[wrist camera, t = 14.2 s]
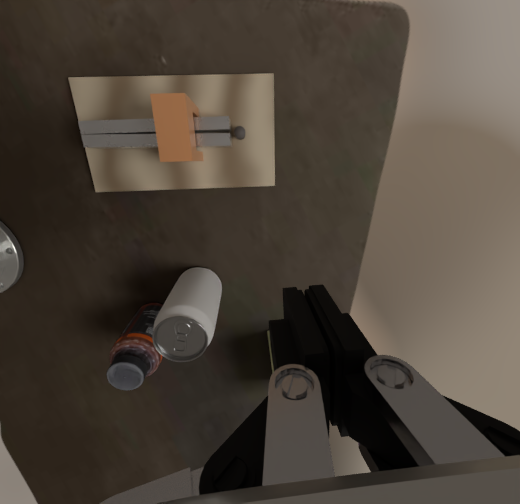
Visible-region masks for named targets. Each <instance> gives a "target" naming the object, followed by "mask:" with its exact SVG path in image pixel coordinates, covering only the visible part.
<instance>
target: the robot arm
mask: <svg viewBox="0 0 520 504" xmlns="http://www.w3.org/2000/svg"><path fill="white" fill-rule="evenodd" d="M23 266H24V259H23V253H22V250H21V247H20V245H19V243H18V241H17V239H16V237H15V236H14V235H13V233H12V232H11V231H10V229H9V228H8V227H7V226H5V225H4V224H3V223H2V222H1V221H0V293H1V292H3V291H5V290H7V289H9V288H10V287H11V286H13V285H14V284H15V283H16V282H17V281H18V280H19V278H20V276H21V274H22V272H23ZM283 307H284V319H281V320H270V321H269V332H270V345H271V354H272V361H273V368H274V372H273V374H272V375H271V377H270V381H269V391H268V396H267V397H266V398H265V399H264V400H263V402H262V403H261V404H260V405H259V406H258V407H257V408H256V409H255V410H254V411H253V412H252V413H251V414H250V415H249V417H248V418H247V419H246V420H245V421H244V422H243V423H242V424H241V425H240V426H239V427H238V428H237V429H236V430H235V431H234V433H233V434H232V435H231V436H230V437H229V438H228V439H227V440H226V441H225V442H224V443H223V444H222V445H221V446H220V448H219V449H218V450H217V451H216V452H215V453H214V454H213V455H212V456H211V457H210V459H209V460H208V461H207V463H206V464H205V466H204V467H202V468H200V469H197V470H194V471H192V472H191V468H190V467H189V468H187V469H184V470H181V471H179V472H176V473H173V474H171V475H168V476H165V477H163V478H160V479H157V480H155V481H152V482H149V483H147V484H144V485H141V486H139V487H136V488H133V489H131V490H128V491H125V492H123V493H120V494H117V495H115V496H112V497H110V498H108V499H107V500H105V501H103V502H101V503H100V504H520V431H518V430H517V429H515V428H513V427H511V426H510V425H508V424H506V423H504V422H502V421H499V420H497V419H495V418H492V417H490V416H488V415H486V414H483V413H481V412H479V411H477V410H474V409H472V408H470V407H467V406H465V405H463V404H461V403H459V402H456V401H454V400H452V399H449V398H447V397H445V396H443V395H441V394H440V393H439V392H438V391H437V390H436V389H435V388H434V387H433V386H432V385H431V384H429V382H427V381H426V380H425V379H424V378H423V377H422V376H421V375H420V374H419V373H418V372H417V371H416V370H415V369H414V368H413V367H412V366H410V365H409V364H408V363H407V362H405V361H403V360H401V359H399V358H396V357H393V356H388V355H377V354H376V352H375V351H374V349H373V348H372V346H371V345H370V344H369V342H368V341H367V339H366V338H365V336H364V335H363V333H362V332H361V331H360V329H359V328H358V326H357V325H356V323H355V322H354V321H353V319H352V318H351V316H350V315H349V314H348V313H343V314H342V313H341V312H340V310H339V309H338V307H337V305H336V304H335V302H334V301H333V299H332V298H331V296H330V295H329V293H328V292H327V290H326V288H325V287H324V285H312V286H309V289H306V290H305V296H304V294H303V292H302V290H297V288H296V287H291V288H283ZM329 420H330V422H331V424H332V426H335V425H337V426H338V429H339V432H340V435H341V437H344V436H349V437H351V438H352V439H354V440H355V441H357V442H358V445H359V449H360V452H361V454H362V456H363V458H364V460H365V462H366V464H367V465H368V467H369V469H370V471H371V472H370V473H362V474H353V475H346V476H338V477H335V475H334V469H333V463H332V456H331V451H330V444H329Z"/></svg>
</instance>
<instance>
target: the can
mask: <svg viewBox="0 0 520 504" xmlns="http://www.w3.org/2000/svg"><path fill="white" fill-rule="evenodd" d="M221 292H222V285H221V281H220V279H219V278H218V276H217V275H216V274H215V273H214V272H212V271H211V270H209V269H206V268H201V267H195V268H191V269H188V270H186V271H185V272H183V273H182V274H181V276H180V277H179V279H178V280H177V282H176V284H175V285H174V287H173V289H172V291H171V292H170V294H169V296H168V297H167V299H166V301H165V303H164V305H163V306H162V308H161V310H160V312H159V313H158V315H157V317H156V319H155V322H154V327H153V335H152V341H153V345H154V347H155V349H156V350H157V351H158V352H159V353H160V354H161V355H162V356H163V357H165V358H167V359H169V360H172V361H176V362H188V361H192V360H194V359H196V358H198V357H200V356H201V355H202V354H203V353H204V352H205V350H206V348H207V346H208V345H209V344H210V342H211V340H212V338H213V335H214V330H215V325H216V320H217V315H218V309H219V304H220V298H221Z"/></svg>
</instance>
